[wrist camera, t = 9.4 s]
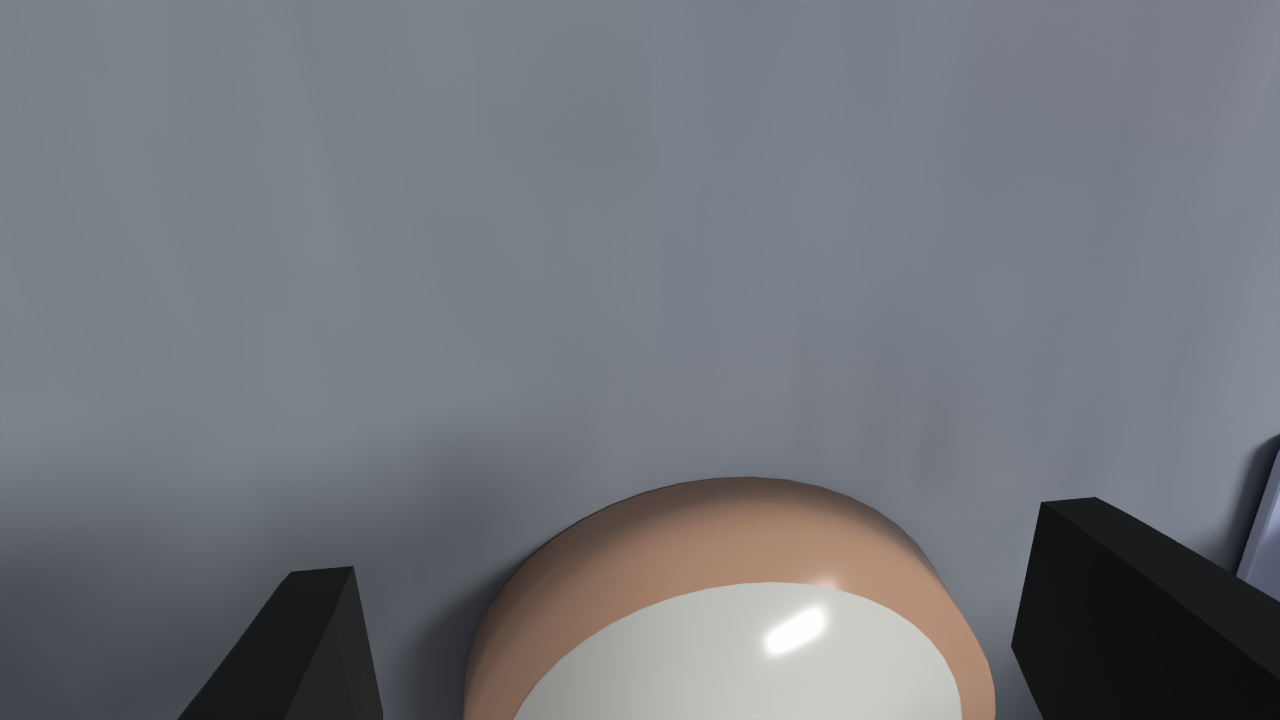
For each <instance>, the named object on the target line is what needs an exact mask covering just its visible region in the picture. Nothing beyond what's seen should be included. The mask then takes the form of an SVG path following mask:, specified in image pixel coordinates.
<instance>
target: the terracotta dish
mask: <svg viewBox="0 0 1280 720" xmlns="http://www.w3.org/2000/svg"><path fill="white" fill-rule="evenodd" d="M995 712H996V708H995V691H994V684H993V680H992V676H991V672H990V668H989V664H988V662H987V659H986V657H985V655H984V653H983V651H982V649H981V647H980V645H979V643H978V640H977V639H976V637H975V635H974V634H973V632H972V630H971V629H970V627H969V625H968V624H967V622H966V620H965V619H964V617H963V615H962V614H961V612H960V610H959V609H958V607H957V605H956V604H955V602H954V600H953V598H952V597H951V595H950V593H949V592H948V590H947V588H946V587H945V585H944V583H943V582H942V580H941V578H940V577H939V575H938V573H937V572H936V570H935V568H934V567H933V565H932V563H931V562H930V561H929V559H928V558H927V557H926V555H925V554H924V552H923V551H922V550H921V548H920V547H919V546H918V544H917V543H916V542H915V541H914V540H913V539H912V538H911V537H910V536H909V535H908V534H906V533H905V532H904V531H903V530H902V529H901V528H900V527H899V526H898V525H897V524H895V523H894V522H892V521H891V520H890V519H888V518H887V517H885V516H884V515H882V514H881V513H880V512H878V511H877V510H875V509H873V508H871V507H869V506H867V505H865V504H863V503H861V502H859V501H857V500H855V499H853V498H851V497H849V496H846V495H843V494H840V493H837V492H834V491H831V490H828V489H826V488H823V487H820V486H815V485H810V484H805V483H800V482H795V481H790V480H782V479H770V478H758V477H741V478H716V479H709V480H702V481H695V482H688V483H681V484H677V485H673V486H669V487H665V488H661V489H657V490H653V491H649V492H646V493H643V494H640V495H638V496H635V497H632V498H630V499H627V500H624V501H622V502H619V503H616V504H613V505H611V506H609V507H607V508H605V509H603V510H601V511H599V512H597V513H595V514H593V515H591V516H589V517H587V518H585V519H583V520H581V521H580V522H578V523H577V524H575V525H573V526H572V527H570V528H569V529H567V530H566V531H564V532H563V533H561V534H560V535H558V536H557V537H555V538H554V539H552V540H551V541H550V542H548V543H547V544H546V545H545V546H544V547H542V548H541V549H540V550H539V551H538V552H536V553H535V554H534V555H533V556H532V557H530V558H529V559H528V560H527V561H526V562H525V563H524V564H523V565H522V566H521V567H520V568H519V569H518V571H517V572H516V573H515V574H514V575H513V576H512V577H511V578H510V579H509V580H508V581H507V582H506V584H505V585H504V586H503V588H502V589H501V591H500V592H499V593H498V595H497V596H496V598H495V599H494V601H493V602H492V603H491V605H490V606H489V608H488V610H487V612H486V614H485V616H484V618H483V620H482V622H481V624H480V626H479V628H478V630H477V632H476V634H475V637H474V641H473V644H472V647H471V650H470V653H469V657H468V662H467V669H466V677H465V687H464V707H463V720H995Z"/></svg>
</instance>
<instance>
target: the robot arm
mask: <svg viewBox="0 0 1280 720" xmlns="http://www.w3.org/2000/svg"><path fill="white" fill-rule="evenodd" d="M1011 647H1012V649H1013V652H1014V654H1015V656H1016V659H1017V661H1018V663H1019V666H1020V668H1021V670H1022V673H1023V675H1024V677H1025V680H1026V682H1027V684H1028V687H1029V689H1030V691H1031V694H1032V696H1033V698H1034V700H1035V702H1036V704H1037V706H1038V709H1039V711H1040V713H1041V715H1042V717H1043V719H1044V720H1280V449H1279V451H1278V453H1277V456H1276V459H1275V462H1274V465H1273V468H1272V471H1271V474H1270V477H1269V480H1268V483H1267V486H1266V489H1265V492H1264V495H1263V498H1262V501H1261V504H1260V506H1259V509H1258V512H1257V515H1256V518H1255V521H1254V524H1253V527H1252V530H1251V533H1250V536H1249V539H1248V542H1247V545H1246V548H1245V551H1244V554H1243V557H1242V560H1241V563H1240V566H1239V569H1238V572H1237V574H1236V576H1235V575H1233V574H1231V573H1229V572H1228V571H1226V570H1224V569H1223V568H1221V567H1219V566H1217V565H1216V564H1214V563H1212V562H1211V561H1209V560H1207V559H1206V558H1204V557H1202V556H1200V555H1199V554H1197V553H1195V552H1194V551H1192V550H1190V549H1188V548H1187V547H1185V546H1183V545H1182V544H1180V543H1178V542H1176V541H1175V540H1173V539H1171V538H1170V537H1168V536H1166V535H1164V534H1163V533H1161V532H1159V531H1157V530H1156V529H1154V528H1152V527H1150V526H1149V525H1147V524H1145V523H1143V522H1142V521H1140V520H1138V519H1136V518H1135V517H1133V516H1131V515H1129V514H1127V513H1125V512H1124V511H1122V510H1120V509H1118V508H1116V507H1114V506H1112V505H1110V504H1108V503H1106V502H1104V501H1102V500H1100V499H1098V498H1096V497H1091V498H1080V499H1069V500H1058V501H1048V502H1041V505H1040V510H1039V515H1038V520H1037V524H1036V529H1035V534H1034V539H1033V543H1032V548H1031V553H1030V558H1029V563H1028V567H1027V572H1026V577H1025V582H1024V586H1023V591H1022V596H1021V601H1020V606H1019V610H1018V615H1017V620H1016V625H1015V629H1014V634H1013V639H1012V644H1011ZM177 720H383V710H382V705H381V700H380V695H379V691H378V686H377V681H376V676H375V671H374V666H373V661H372V656H371V651H370V646H369V641H368V636H367V631H366V626H365V621H364V616H363V611H362V606H361V601H360V596H359V591H358V586H357V581H356V576H355V571H354V566H349V567H338V568H328V569H317V570H306V571H295V572H291V573H290V574H289V575H288V576H287V577H286V578H285V579H284V580H283V581H282V582H281V583H280V585H279V586H278V588H277V589H276V590H275V592H274V593H273V594H272V596H271V597H270V598H269V600H268V601H267V602H266V604H265V605H264V607H263V608H262V609H261V611H260V612H259V613H258V615H257V616H256V617H255V619H254V620H253V622H252V623H251V624H250V626H249V627H248V628H247V630H246V631H245V632H244V634H243V635H242V636H241V638H240V639H239V640H238V642H237V643H236V644H235V646H234V647H233V648H232V650H231V651H230V652H229V654H228V655H227V656H226V658H225V659H224V660H223V662H222V663H221V664H220V666H219V667H218V668H217V670H216V671H215V672H214V674H213V675H212V676H211V677H210V679H209V680H208V681H207V683H206V684H205V685H204V686H203V688H202V689H201V690H200V691H199V693H198V694H197V695H196V696H195V698H194V699H193V700H192V701H191V703H190V704H189V705H188V706H187V708H186V709H185V710H184V711H183V713H182V714H181V715H180V717H179V718H178V719H177Z"/></svg>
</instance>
